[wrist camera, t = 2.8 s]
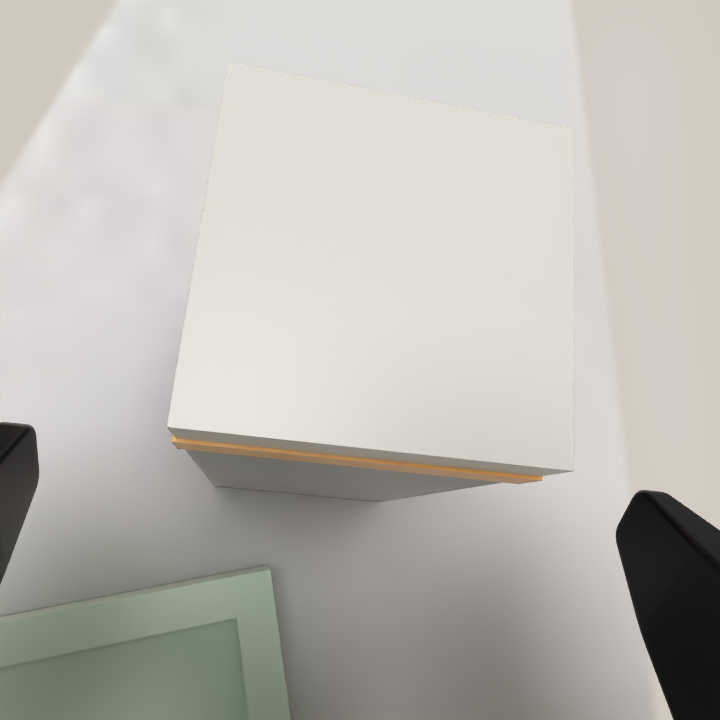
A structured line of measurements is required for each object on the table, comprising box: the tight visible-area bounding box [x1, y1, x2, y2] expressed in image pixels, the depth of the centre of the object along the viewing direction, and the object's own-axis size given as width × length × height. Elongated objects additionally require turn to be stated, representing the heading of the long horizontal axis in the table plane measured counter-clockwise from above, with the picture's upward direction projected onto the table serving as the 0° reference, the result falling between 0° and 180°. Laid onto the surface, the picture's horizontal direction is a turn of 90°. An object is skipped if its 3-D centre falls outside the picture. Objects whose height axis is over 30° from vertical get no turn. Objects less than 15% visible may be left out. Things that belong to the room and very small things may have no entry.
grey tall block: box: [167, 62, 574, 502], centre depth 14 cm, size 5×5×12 cm
